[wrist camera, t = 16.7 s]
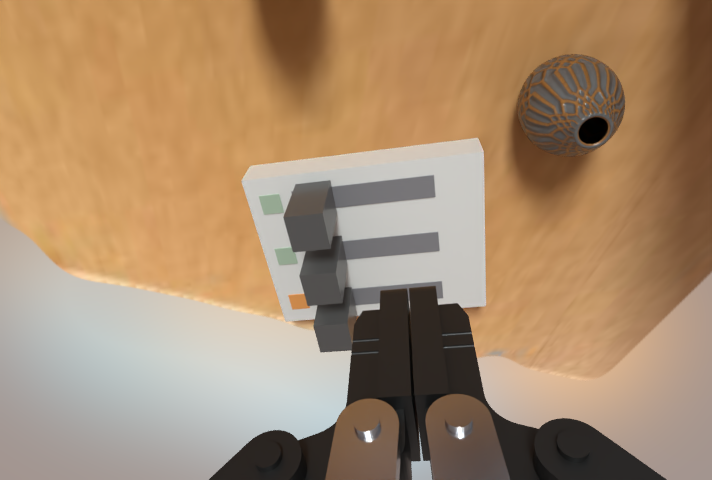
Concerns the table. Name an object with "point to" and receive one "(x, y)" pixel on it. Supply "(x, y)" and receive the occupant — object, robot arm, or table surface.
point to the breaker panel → (373, 225)
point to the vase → (571, 105)
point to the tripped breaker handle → (336, 324)
